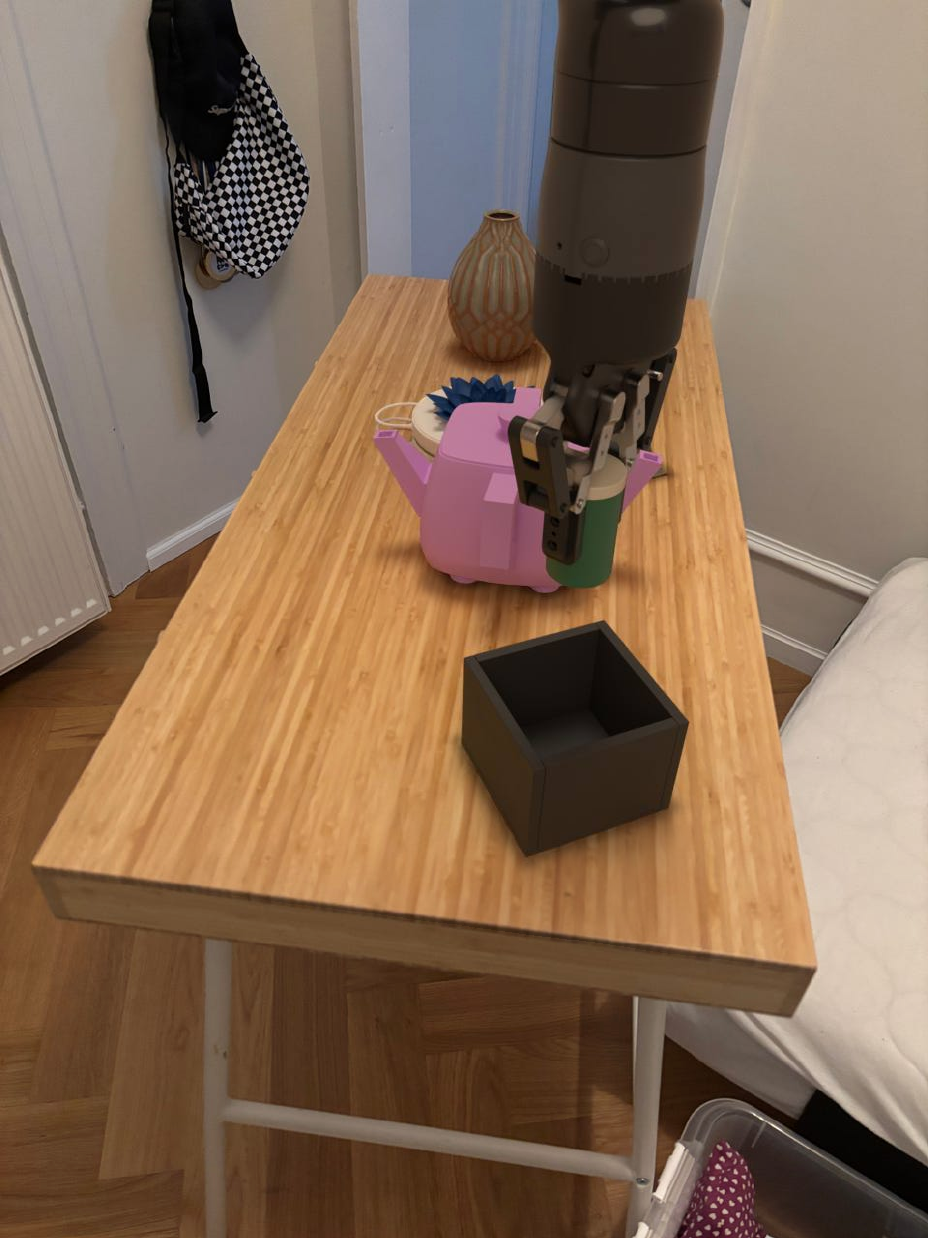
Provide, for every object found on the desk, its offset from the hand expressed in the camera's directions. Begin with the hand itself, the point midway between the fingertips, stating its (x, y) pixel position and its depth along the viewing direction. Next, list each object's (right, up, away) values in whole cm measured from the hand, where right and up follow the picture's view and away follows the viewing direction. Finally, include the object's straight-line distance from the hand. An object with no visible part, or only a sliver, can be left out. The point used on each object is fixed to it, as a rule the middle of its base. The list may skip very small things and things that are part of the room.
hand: (581, 539), depth 55 cm
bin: (0, -16, +12) cm, 20 cm away
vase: (-3, +31, +69) cm, 76 cm away
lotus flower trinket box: (-7, +14, +49) cm, 52 cm away
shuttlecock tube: (0, -2, +1) cm, 2 cm away
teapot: (-3, +1, +33) cm, 33 cm away
